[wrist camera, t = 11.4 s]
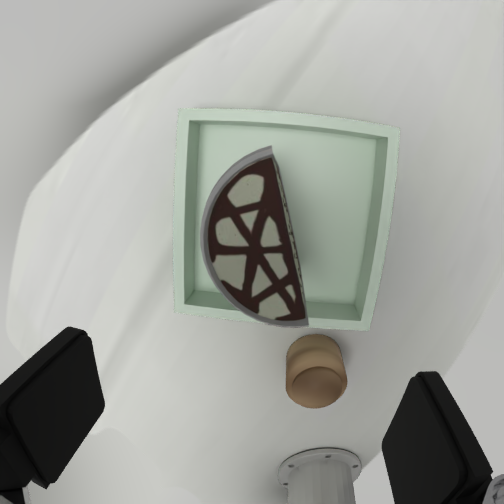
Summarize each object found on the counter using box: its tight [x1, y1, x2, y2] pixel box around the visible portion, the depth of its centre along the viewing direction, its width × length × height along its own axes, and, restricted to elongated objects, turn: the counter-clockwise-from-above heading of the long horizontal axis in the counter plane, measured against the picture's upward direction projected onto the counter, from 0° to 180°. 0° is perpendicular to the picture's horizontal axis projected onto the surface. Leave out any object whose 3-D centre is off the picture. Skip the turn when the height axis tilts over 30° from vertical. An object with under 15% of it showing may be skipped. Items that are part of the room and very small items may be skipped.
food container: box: [200, 145, 309, 328], centre depth 24 cm, size 12×6×10 cm, turn 13°
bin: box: [173, 108, 400, 331], centre depth 27 cm, size 18×18×4 cm
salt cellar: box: [286, 334, 347, 408], centre depth 31 cm, size 6×6×6 cm
